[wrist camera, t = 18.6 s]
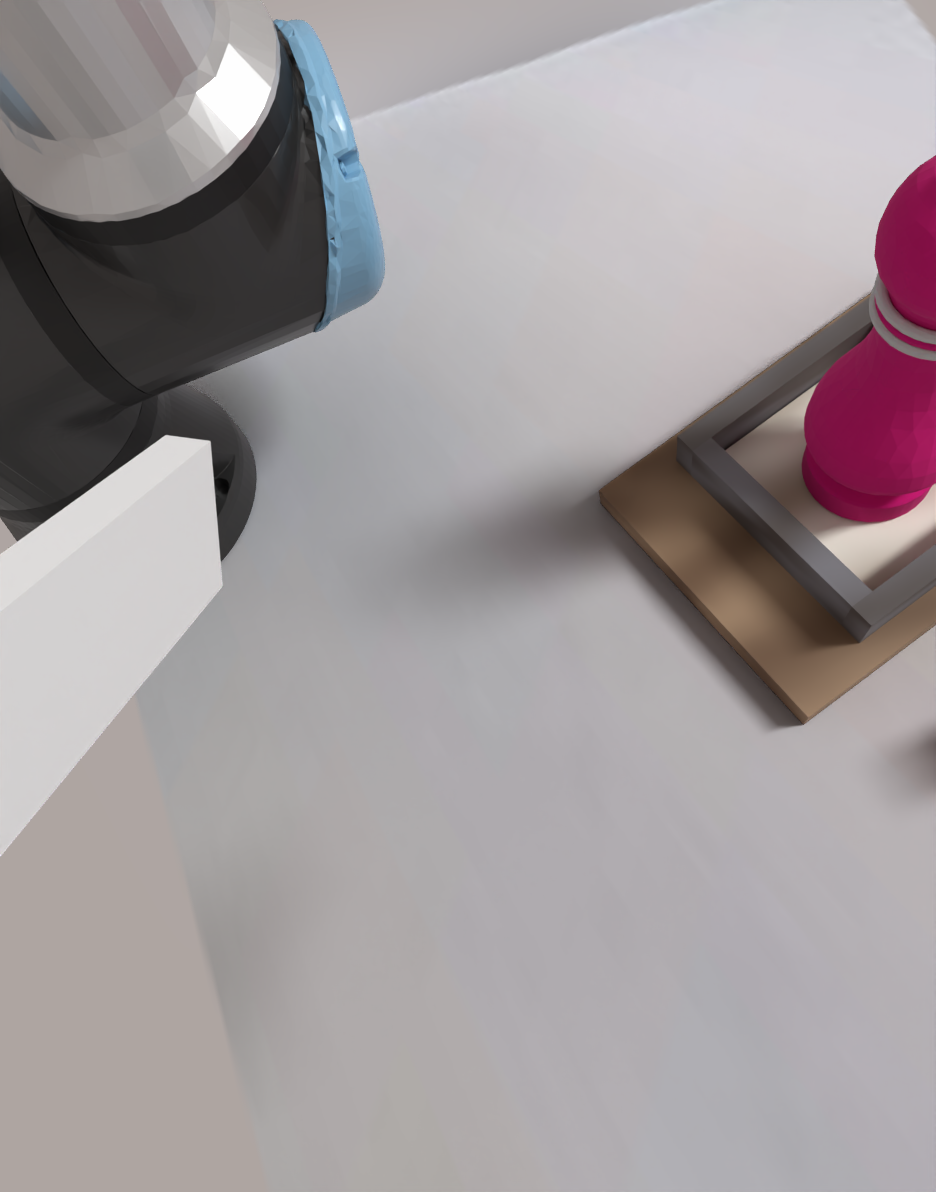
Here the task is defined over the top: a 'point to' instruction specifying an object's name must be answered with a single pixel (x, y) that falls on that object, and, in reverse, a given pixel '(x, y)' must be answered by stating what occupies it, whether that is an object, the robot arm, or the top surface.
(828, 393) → the pepper mill
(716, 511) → the socket board
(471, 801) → the top surface
